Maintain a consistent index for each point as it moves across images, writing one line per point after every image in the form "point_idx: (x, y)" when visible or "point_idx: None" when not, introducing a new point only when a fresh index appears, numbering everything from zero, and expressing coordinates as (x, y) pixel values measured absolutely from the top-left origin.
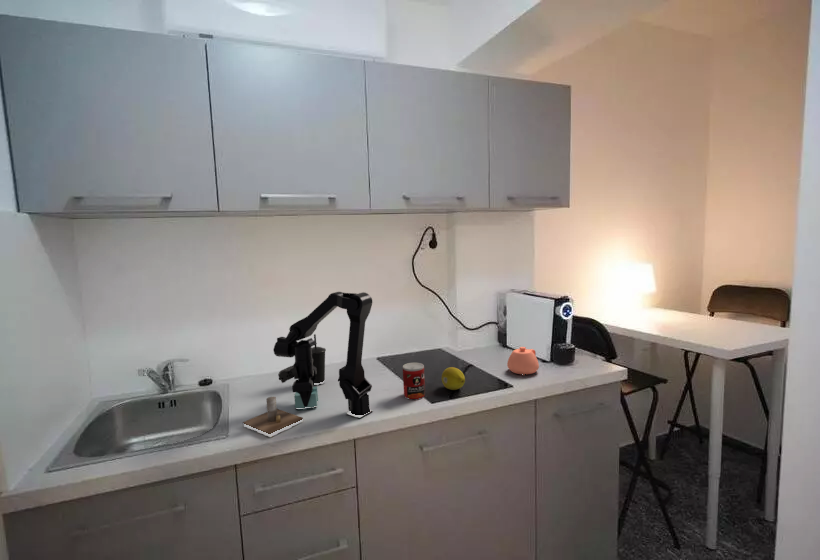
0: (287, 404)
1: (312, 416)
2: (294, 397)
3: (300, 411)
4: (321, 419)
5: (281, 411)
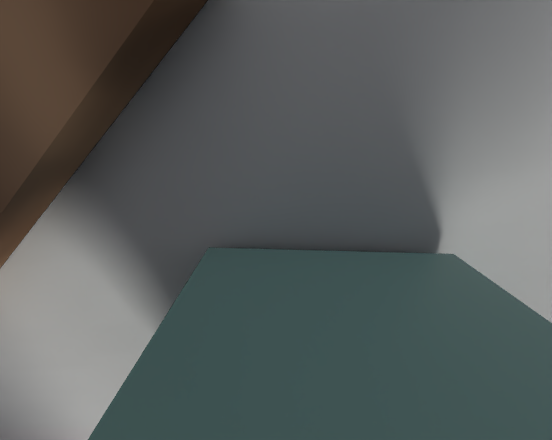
0: (473, 117)
1: (77, 383)
2: (117, 398)
3: None
4: (22, 435)
5: (50, 80)
